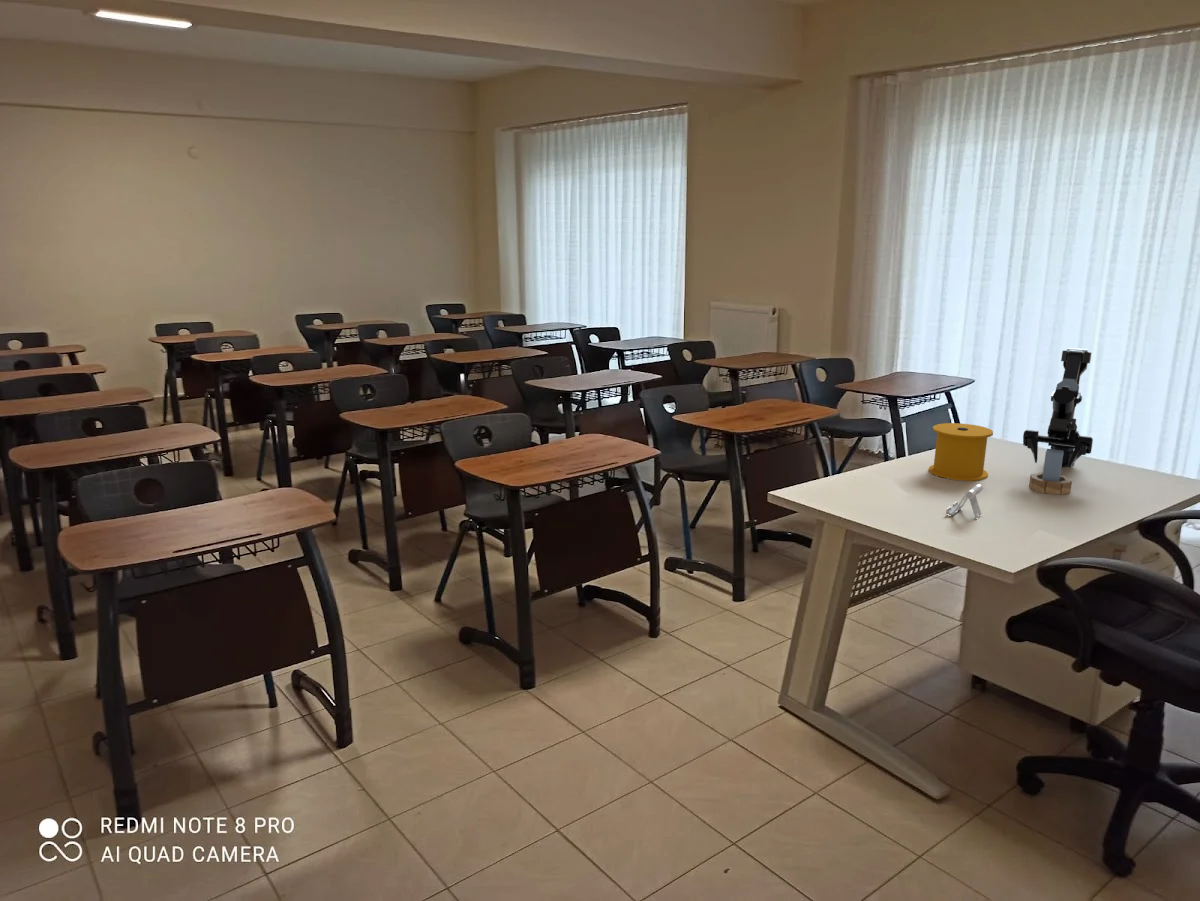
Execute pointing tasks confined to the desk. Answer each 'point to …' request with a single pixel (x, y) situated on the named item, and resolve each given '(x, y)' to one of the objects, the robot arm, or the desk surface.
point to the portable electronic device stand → (969, 495)
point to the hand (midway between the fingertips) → (1052, 464)
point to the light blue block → (1052, 465)
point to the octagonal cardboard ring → (1050, 484)
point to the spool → (960, 451)
